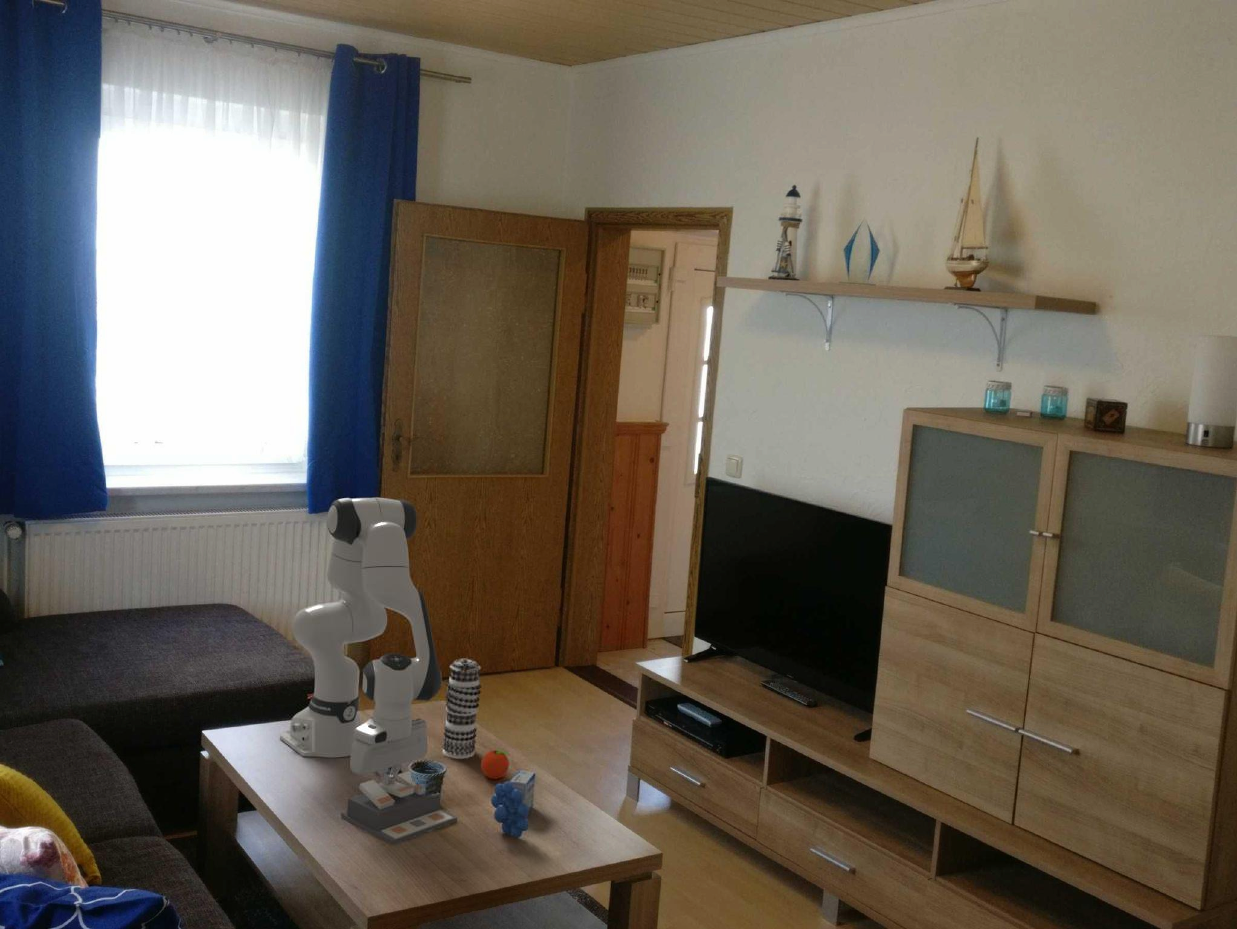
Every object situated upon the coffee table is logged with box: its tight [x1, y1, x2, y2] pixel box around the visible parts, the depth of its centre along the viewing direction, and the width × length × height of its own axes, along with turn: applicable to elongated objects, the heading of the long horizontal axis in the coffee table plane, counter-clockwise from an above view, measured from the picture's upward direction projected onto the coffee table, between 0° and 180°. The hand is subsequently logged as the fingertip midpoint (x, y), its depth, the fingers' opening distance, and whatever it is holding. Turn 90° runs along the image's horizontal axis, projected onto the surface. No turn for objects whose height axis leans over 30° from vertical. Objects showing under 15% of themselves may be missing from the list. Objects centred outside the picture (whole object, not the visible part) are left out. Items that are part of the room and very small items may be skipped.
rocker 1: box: [358, 779, 394, 809], centre depth 273 cm, size 8×4×1 cm, turn 51°
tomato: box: [481, 749, 514, 780], centre depth 306 cm, size 8×7×7 cm
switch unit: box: [340, 781, 458, 846], centre depth 277 cm, size 18×19×5 cm
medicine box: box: [509, 769, 536, 812], centre depth 287 cm, size 8×4×9 cm, turn 168°
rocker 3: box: [396, 770, 426, 795], centre depth 282 cm, size 8×4×1 cm, turn 51°
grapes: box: [490, 780, 530, 839], centre depth 273 cm, size 12×7×12 cm, turn 49°
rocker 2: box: [377, 781, 414, 797], centre depth 277 cm, size 8×4×1 cm, turn 51°
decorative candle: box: [442, 658, 482, 760], centre depth 319 cm, size 9×9×25 cm
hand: (388, 783), depth 279 cm, fingers closed, pressing on rocker 2
